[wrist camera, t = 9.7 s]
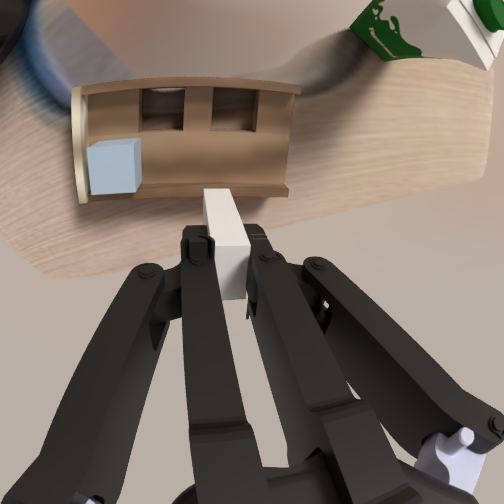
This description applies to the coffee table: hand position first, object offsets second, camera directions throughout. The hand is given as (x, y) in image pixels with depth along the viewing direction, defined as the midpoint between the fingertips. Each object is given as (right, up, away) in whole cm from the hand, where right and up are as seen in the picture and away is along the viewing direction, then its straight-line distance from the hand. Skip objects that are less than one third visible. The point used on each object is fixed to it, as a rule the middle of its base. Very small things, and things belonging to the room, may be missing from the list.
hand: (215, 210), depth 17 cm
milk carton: (+19, +28, +10) cm, 35 cm away
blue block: (-12, +8, +11) cm, 19 cm away
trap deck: (-6, +11, +14) cm, 19 cm away
